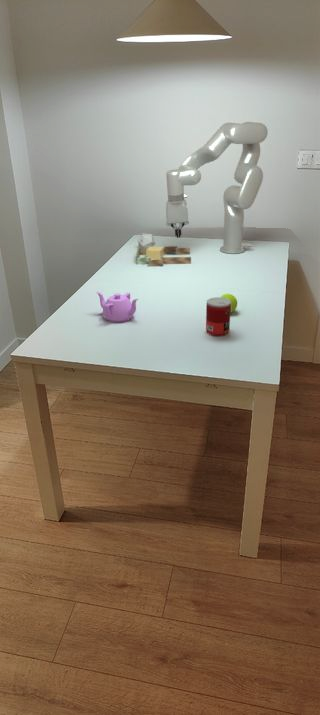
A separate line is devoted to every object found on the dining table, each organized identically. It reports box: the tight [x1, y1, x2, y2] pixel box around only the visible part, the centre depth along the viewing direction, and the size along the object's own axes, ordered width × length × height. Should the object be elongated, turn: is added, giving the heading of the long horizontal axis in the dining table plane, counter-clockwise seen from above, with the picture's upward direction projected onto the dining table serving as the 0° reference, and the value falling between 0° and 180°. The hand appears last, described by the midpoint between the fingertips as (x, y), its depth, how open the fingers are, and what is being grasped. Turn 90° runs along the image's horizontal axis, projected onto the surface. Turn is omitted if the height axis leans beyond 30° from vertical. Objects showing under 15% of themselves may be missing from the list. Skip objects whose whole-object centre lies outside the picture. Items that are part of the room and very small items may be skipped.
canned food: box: [205, 296, 231, 337], centre depth 172 cm, size 8×8×11 cm
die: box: [136, 233, 156, 249], centre depth 266 cm, size 8×9×10 cm
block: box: [145, 246, 165, 260], centre depth 253 cm, size 7×7×4 cm
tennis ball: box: [220, 293, 238, 314], centre depth 188 cm, size 7×7×7 cm
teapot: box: [95, 291, 139, 323], centre depth 185 cm, size 12×14×9 cm
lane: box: [135, 245, 192, 267], centre depth 250 cm, size 26×23×4 cm
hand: (178, 237), depth 247 cm, fingers closed
